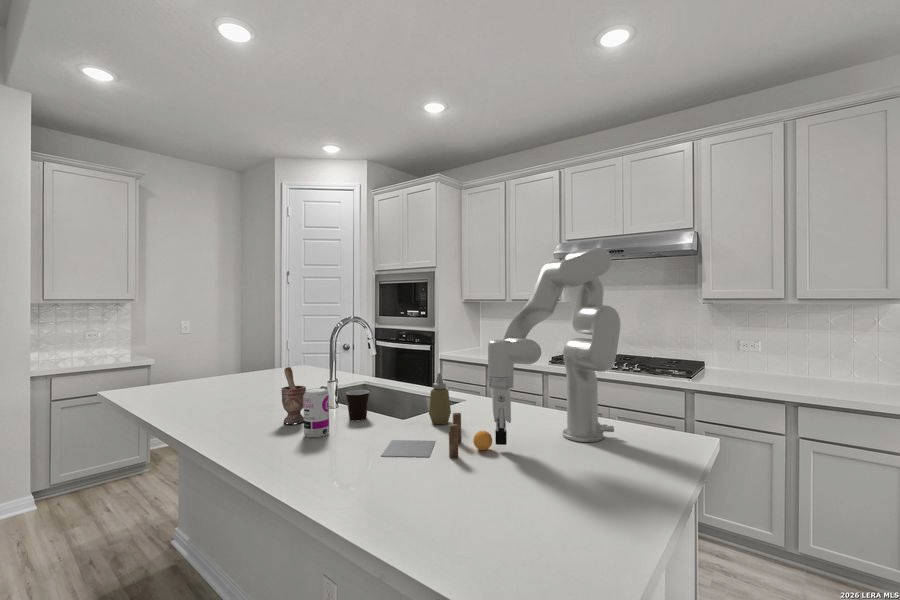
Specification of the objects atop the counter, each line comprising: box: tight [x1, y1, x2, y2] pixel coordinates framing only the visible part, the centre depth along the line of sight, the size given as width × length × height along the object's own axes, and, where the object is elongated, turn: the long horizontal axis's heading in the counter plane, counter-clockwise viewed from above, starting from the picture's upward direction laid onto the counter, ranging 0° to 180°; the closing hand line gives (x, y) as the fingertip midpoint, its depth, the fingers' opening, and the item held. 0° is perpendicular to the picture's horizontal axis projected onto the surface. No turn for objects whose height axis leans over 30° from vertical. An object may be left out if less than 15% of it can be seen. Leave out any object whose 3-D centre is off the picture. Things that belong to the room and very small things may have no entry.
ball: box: [472, 430, 493, 451], centre depth 129 cm, size 6×6×6 cm
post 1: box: [452, 412, 462, 445], centre depth 136 cm, size 3×3×9 cm
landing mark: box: [380, 439, 436, 458], centre depth 131 cm, size 14×14×1 cm
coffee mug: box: [345, 389, 370, 422], centre depth 168 cm, size 12×9×10 cm
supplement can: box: [303, 387, 330, 438], centre depth 147 cm, size 8×8×15 cm
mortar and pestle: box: [281, 366, 307, 424], centre depth 163 cm, size 12×9×20 cm
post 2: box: [448, 423, 459, 460], centre depth 124 cm, size 3×3×9 cm
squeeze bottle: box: [428, 372, 452, 425], centre depth 159 cm, size 8×8×18 cm
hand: (500, 443), depth 128 cm, fingers closed
